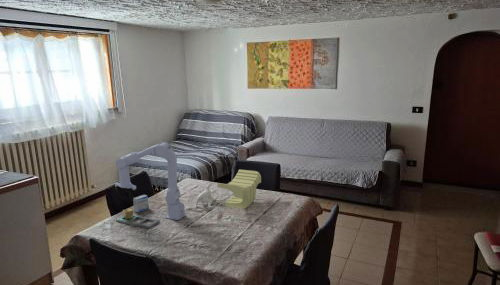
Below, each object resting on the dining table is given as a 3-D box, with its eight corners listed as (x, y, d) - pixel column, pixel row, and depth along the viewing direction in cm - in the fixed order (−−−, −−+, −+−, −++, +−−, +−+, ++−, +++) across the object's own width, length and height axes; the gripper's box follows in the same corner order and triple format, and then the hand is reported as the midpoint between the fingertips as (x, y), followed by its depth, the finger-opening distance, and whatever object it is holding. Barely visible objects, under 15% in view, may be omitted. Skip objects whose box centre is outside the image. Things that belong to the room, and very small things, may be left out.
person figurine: (209, 193, 204) (214, 179, 221) (189, 197, 206) (195, 183, 223) (215, 211, 209) (219, 196, 225) (196, 215, 211) (201, 199, 227)
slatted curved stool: (242, 214, 199) (241, 186, 195) (218, 210, 205) (217, 182, 202) (261, 197, 226) (260, 171, 222) (239, 194, 232) (239, 169, 228)
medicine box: (138, 213, 205) (137, 199, 203) (133, 211, 207) (132, 198, 205) (149, 208, 211) (148, 195, 209) (144, 207, 213) (143, 194, 212)
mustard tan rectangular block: (133, 220, 195) (132, 210, 194) (126, 222, 192) (125, 212, 191) (131, 217, 198) (130, 208, 197) (123, 219, 196) (122, 210, 194)
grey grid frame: (159, 222, 192) (159, 219, 191) (149, 228, 184) (148, 226, 183) (127, 215, 201) (127, 213, 201) (116, 221, 193) (116, 219, 193)
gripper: (139, 176, 196) (141, 198, 199) (120, 174, 202) (122, 195, 205) (130, 180, 190) (132, 203, 193) (111, 177, 196) (113, 199, 199)
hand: (126, 199), depth 198 cm, fingers open, 7 cm apart
